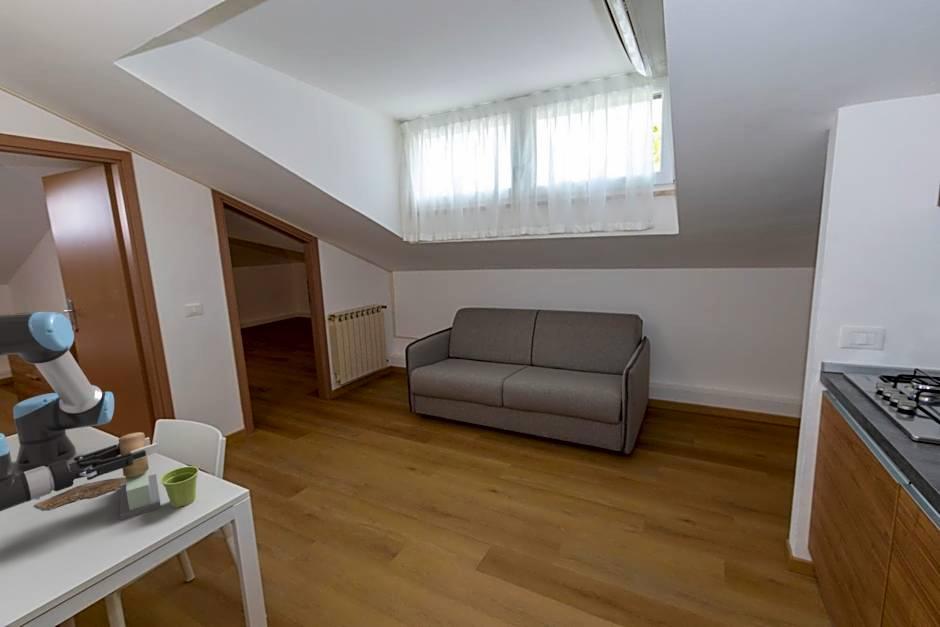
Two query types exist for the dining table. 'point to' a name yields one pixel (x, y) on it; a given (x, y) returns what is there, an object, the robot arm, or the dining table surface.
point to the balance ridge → (139, 495)
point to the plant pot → (181, 485)
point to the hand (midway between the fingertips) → (153, 444)
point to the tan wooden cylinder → (131, 444)
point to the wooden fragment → (82, 493)
